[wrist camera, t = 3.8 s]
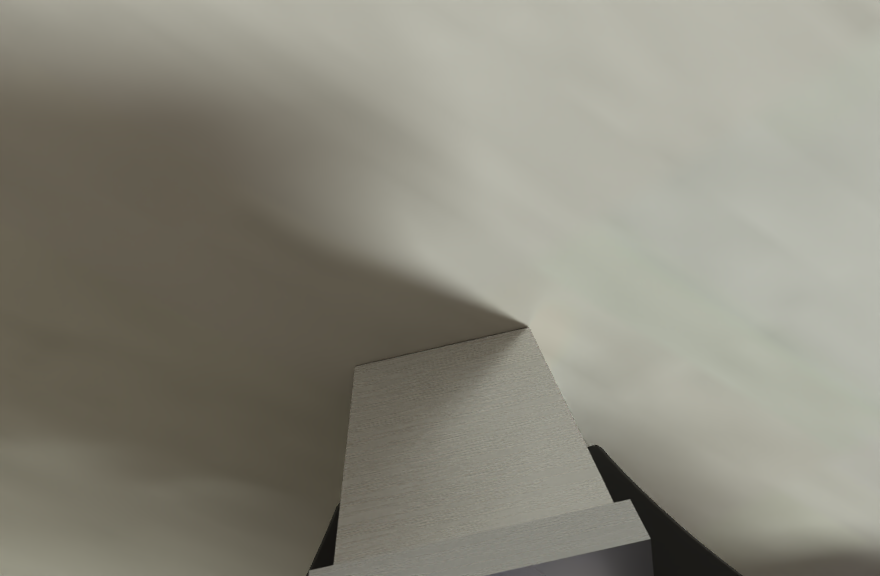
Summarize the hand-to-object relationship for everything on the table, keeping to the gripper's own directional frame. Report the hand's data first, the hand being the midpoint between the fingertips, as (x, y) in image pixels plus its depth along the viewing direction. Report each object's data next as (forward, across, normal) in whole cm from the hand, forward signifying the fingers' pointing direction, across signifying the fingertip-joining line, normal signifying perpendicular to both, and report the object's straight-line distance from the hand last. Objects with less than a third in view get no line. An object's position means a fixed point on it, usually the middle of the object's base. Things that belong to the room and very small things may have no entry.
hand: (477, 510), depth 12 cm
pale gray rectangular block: (+2, 0, 0) cm, 2 cm away
